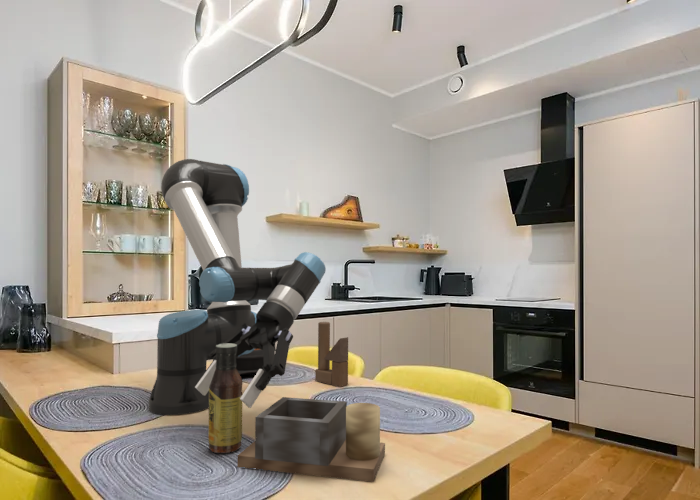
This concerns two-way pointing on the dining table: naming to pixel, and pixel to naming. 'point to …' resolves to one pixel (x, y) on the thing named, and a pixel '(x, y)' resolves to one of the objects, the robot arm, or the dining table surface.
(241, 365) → the casserole
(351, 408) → the post socket
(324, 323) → the wooden block
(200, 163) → the robot arm
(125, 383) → the dining table surface
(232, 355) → the sauce bottle
